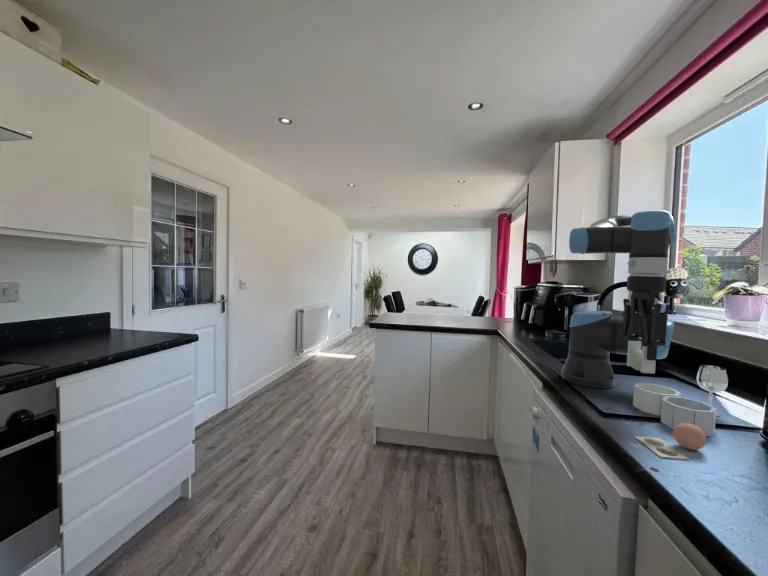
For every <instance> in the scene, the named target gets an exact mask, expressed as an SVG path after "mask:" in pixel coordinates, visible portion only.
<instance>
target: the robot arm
mask: <svg viewBox="0 0 768 576" xmlns="http://www.w3.org/2000/svg"><path fill="white" fill-rule="evenodd" d="M675 229H676V225H675V220H674V217H673V216H672V215H671V213H670V211H667V210H663V209H661V210H659V209H658V210H657V209H654V210H645V211H638V212H635V213H633V214H625V215H621V214H620V215H614V216H610V217H605V218H602V219H600V220H596V221H594V222H593V223H592V224H590V226H588V227H577V228H576V227H575V228H572V229H571V231H570V232H569V233H570V234H569V237H568V238H569V240H568V243H569V244H568V245H569V246H568V247H569V251H570V252H571V253H572V254H581V255H586V254H589V255H590V254H628V262H627V265H628V269H627V273H628V274H629V276H627V279H626V290H627V291H628V293H627V294H628V298H623V301H622V302H623V310H622V311H621V314H620V316H617V315H615V316H614V313H613V312H612V311H610V310H585V311H579V312H574V313H572V314H571V316H570V321H569V322H570V323H569V325H568V326H569V327H568V328H569V340H568V341H569V342H568V354H567V357H566V359H565V362H564V364H563V366H562V368H561V373H560V376H561V378H562V379H563V380H564V381H566V382H568V383H571V384H573V385H576V386H577V385H578V386H582V387H586V388H594V389H609V388H610V389H611V388H614V387H615V382H616V381H615V380H616V379H615V374H614V372H613V368H612V364H611V362H610V357H611V355H610V353H612V354H619V355H626V366H627V367H631V366H630V364H629V362H628V356H629V355H630V353H632V352H633V351H636V350H641V351H642V359H641V371H640V373H642V374H655V373H656V362H657V360H662V359H666V358H667V356H668V354H669V351H670V345H671V341H672V337H673V331H674V328H675V322H674V321H672V320H670V319H668V317H669V316H668V312H670V311H669V310H670V307H671V306H670V304H669V303H663V300H662V299H663V293H665V292H666V288H667V278H666V277H665V276H664V275H667V274H668V263H669V259H668V258H669V257H668V256H669V255H668V253H669V248H670V247H673V246H674V245H675V242H676V231H675Z"/></svg>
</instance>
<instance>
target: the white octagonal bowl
mask: <svg viewBox="0 0 768 576" xmlns="http://www.w3.org/2000/svg"><path fill="white" fill-rule="evenodd" d="M666 396H672V397H681V392H680V391H678V390H677V389H674V388H672V387H669V386H665V385H661V384H656V383H649V382H648V383H647V382H637V383H636V384H634V385H633V398H632V406H634V408H636V409H638V410H639V411H641V412H644V413H647V414H650V415H655V416H659V417H661V409H662V399H663V398H664V397H666Z"/></svg>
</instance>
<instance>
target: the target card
mask: <svg viewBox="0 0 768 576" xmlns="http://www.w3.org/2000/svg"><path fill="white" fill-rule="evenodd" d="M634 439H636V440H637V441H638V442H639V443H641V444H642V445H643V446H645V447H646V448H647V449H649V450H650V451H651V452H653V453H654V454H655V455H656V456H657V457H659V458H660V459H669V460H670V459H672V460H682V461H689V460H690V458H689V457H688V456H686V455H685V454H683V453H682V452H680V451H679V450H677V449H676V448H675V447H673V446H671V444H669V443H668V442H666V441H665V440H663V439H662V438H661V437H649V436H636V435H635V436H634Z"/></svg>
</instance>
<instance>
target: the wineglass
mask: <svg viewBox="0 0 768 576" xmlns="http://www.w3.org/2000/svg"><path fill="white" fill-rule="evenodd" d="M728 382H729V378H728V374H727V369H726V368H724V367H722V366H721V367H720V366H716V365H710V364H709V365H708V364H702V365H701V364H700V367H699V369H698V371H697V373H696V383H697V385H698V386H699V388H701V389H702V390H704V391H706V392H708V393H707V397H708V405H711V406H712V401H713V398H714V393H721V392H724V391H725V390H727V388H728V384H729V383H728ZM716 416H717V417H718V416H720V417H722V414H721V413H719V412H717V411H716ZM717 417H716V418H717ZM718 418H719V417H718Z"/></svg>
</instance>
